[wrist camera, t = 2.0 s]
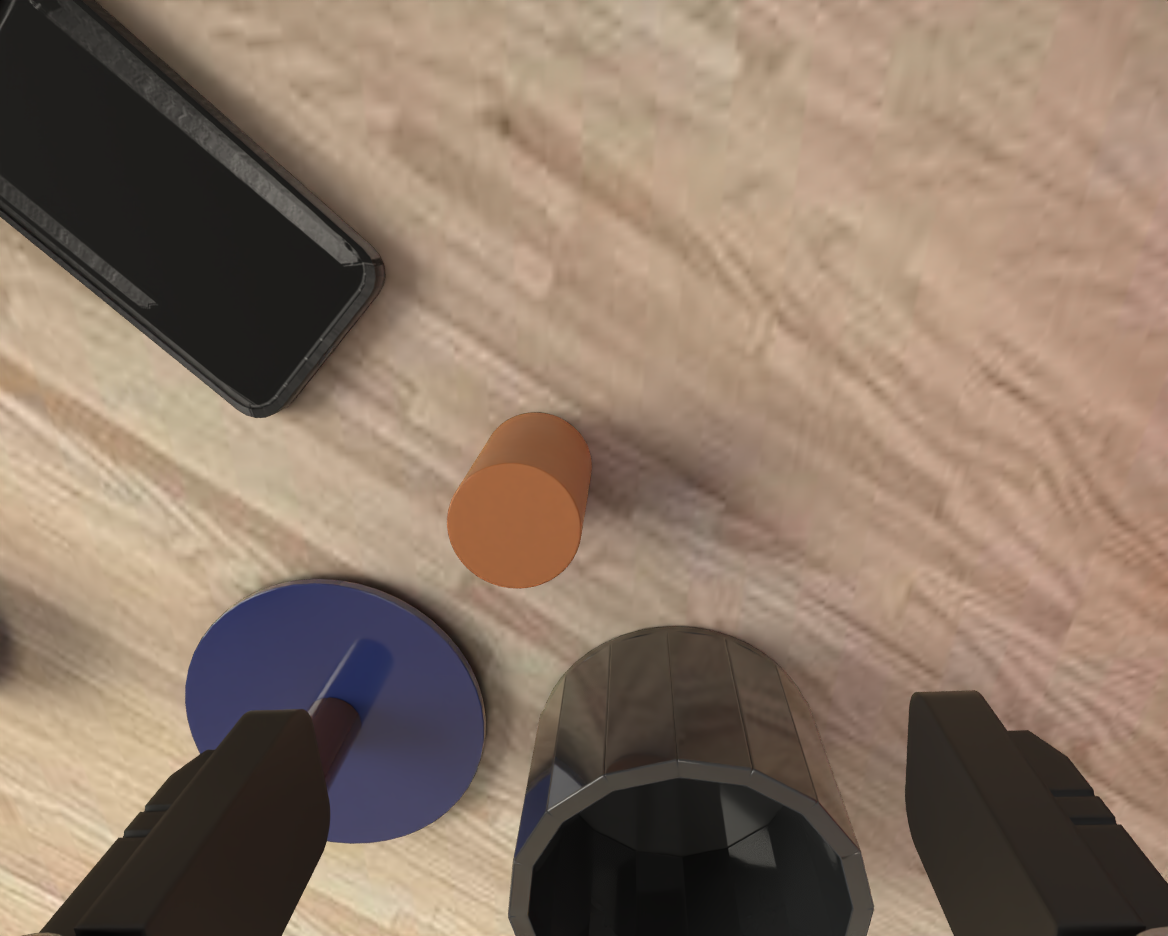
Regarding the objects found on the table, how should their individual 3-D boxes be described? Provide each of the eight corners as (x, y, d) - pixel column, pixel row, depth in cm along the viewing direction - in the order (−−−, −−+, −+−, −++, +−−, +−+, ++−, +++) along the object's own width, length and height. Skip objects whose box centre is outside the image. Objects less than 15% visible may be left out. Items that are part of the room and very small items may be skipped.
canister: (527, 840, 36) (497, 1019, 28) (551, 609, 33) (524, 740, 25) (786, 873, 36) (831, 1065, 28) (840, 644, 32) (908, 788, 24)
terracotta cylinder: (480, 509, 32) (443, 580, 25) (487, 405, 30) (450, 455, 24) (585, 521, 31) (574, 596, 25) (597, 418, 30) (588, 471, 24)
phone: (17, -57, 25) (388, 271, 28) (42, -46, 26) (398, 269, 29) (-94, 144, 27) (261, 433, 30) (-67, 146, 28) (273, 425, 31)
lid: (204, 807, 37) (127, 914, 31) (190, 554, 33) (99, 625, 27) (479, 842, 37) (451, 957, 31) (498, 591, 33) (471, 671, 27)
